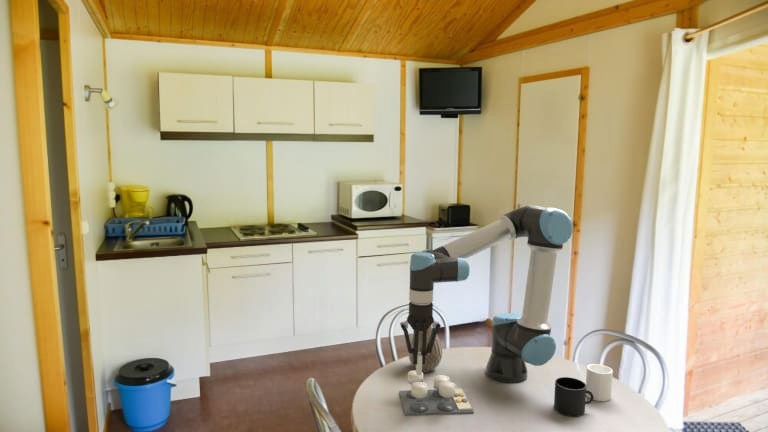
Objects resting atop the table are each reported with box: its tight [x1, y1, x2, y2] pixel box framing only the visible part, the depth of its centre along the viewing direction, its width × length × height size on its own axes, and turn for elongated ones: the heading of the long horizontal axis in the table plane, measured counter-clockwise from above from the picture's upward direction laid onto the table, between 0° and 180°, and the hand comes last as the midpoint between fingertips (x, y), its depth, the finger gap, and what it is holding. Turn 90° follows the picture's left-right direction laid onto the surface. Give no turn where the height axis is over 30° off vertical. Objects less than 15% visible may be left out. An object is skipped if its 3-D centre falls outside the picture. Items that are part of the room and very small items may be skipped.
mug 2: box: [585, 363, 614, 402], centre depth 175 cm, size 8×12×10 cm, turn 7°
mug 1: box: [553, 376, 593, 418], centre depth 163 cm, size 9×12×9 cm
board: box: [399, 388, 474, 417], centre depth 168 cm, size 22×16×2 cm
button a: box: [433, 374, 450, 393], centre depth 172 cm, size 5×5×5 cm
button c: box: [407, 369, 424, 386], centre depth 171 cm, size 5×5×5 cm
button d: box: [410, 381, 429, 402], centre depth 162 cm, size 5×5×5 cm
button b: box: [439, 380, 456, 401], centre depth 163 cm, size 5×5×5 cm
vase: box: [407, 325, 443, 373], centre depth 194 cm, size 13×13×18 cm
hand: (418, 373), depth 161 cm, fingers closed
